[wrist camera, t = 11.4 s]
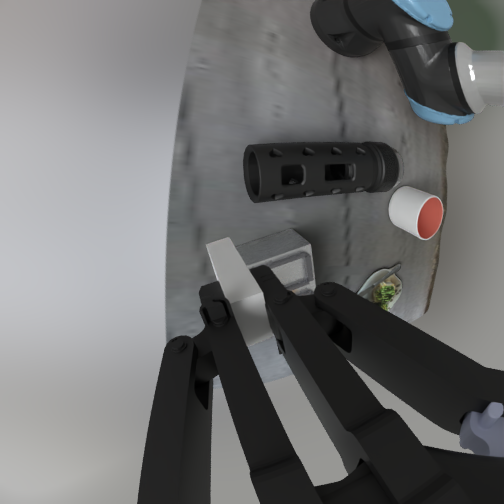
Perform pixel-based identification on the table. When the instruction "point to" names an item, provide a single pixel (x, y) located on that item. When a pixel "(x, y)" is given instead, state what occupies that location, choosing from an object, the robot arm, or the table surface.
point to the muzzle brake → (319, 169)
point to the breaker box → (283, 259)
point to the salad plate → (382, 288)
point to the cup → (416, 212)
